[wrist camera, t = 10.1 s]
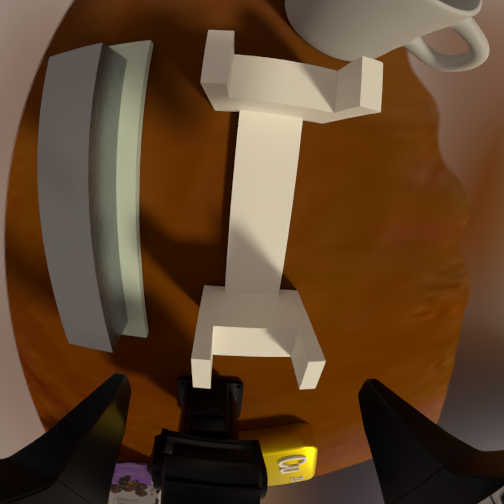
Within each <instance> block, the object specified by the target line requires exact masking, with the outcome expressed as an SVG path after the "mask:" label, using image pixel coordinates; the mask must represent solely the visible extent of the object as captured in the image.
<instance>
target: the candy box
mask: <svg viewBox="0 0 504 504" xmlns="http://www.w3.org/2000/svg"><path fill="white" fill-rule="evenodd" d="M147 465H148V463H132V462H116V466H115V471H114V475H113V480H112V484H111V489H110V494H109V499H108V504H161V490H156V489H154V488H153V482H152V477H151V476H150V475H149V474H148V473H147Z"/></svg>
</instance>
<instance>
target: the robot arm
mask: <svg viewBox="0 0 504 504" xmlns="http://www.w3.org/2000/svg"><path fill="white" fill-rule="evenodd" d="M181 381H182V382H181ZM238 385H239V386H238ZM177 386H178V393H179V400H180V406H181V415H180V422H179V430H178V432H175V431H169V430H168V429H164V428H162V432H161V435H157V436H155V441H154V447H153V451H152V454H151V457H150V459H149V462H148V465H147V473H148V474H149V475H150V476H151V477H152V482H153V488H154V489H156V490H161V504H260V499H263V498H264V497H265V495H266V492H267V486H268V475H267V469H266V465H265V462H264V458H263V455H262V451H261V447H260V443H259V440H255V439H252V440H239V425H238V418H239V417H240V410H241V403H242V395H243V382H241V381H230V380H212V379H211V388H210V389H208V388H196V387H193V380H192V378H187V377H179V378H178V380H177ZM130 395H131V388H130V384H129V381H128V378H127V375H126V374H122V373H114V374H113V375H112V376H111V377H110V378H108V379H107V380H106V381H105V382H104V383H103V384H101V385H100V386H99V387H98V388H97V389H96V390H95V391H93V392H92V393H91V394H90V395H89V396H88V397H86V398H85V399H84V400H83V401H82V402H81V403H79V404H78V405H77V406H76V407H75V408H74V409H73V410H71V411H70V412H69V413H68V414H67V415H66V416H64V417H63V418H62V419H61V420H60V421H59V422H57V423H56V425H54V426H53V427H52V428H50V429H49V430H48V431H47V432H46V433H44V434H43V435H42V436H41V437H39V438H38V439H36V440H35V441H34V442H32V443H30V444H29V445H27V446H26V447H24V448H23V449H21V450H20V451H18V452H16V453H15V454H13V455H12V456H10V457H7V458H4V459H0V504H108V499H109V494H110V489H111V484H112V480H113V475H114V471H115V466H116V462H117V458H118V454H119V450H120V446H121V442H122V439H123V435H124V431H125V427H126V421H127V414H128V407H129V401H130ZM358 398H359V403H360V409H361V414H362V420H363V425H364V429H365V433H366V436H367V440H368V443H369V447H370V450H371V454H372V457H373V461H374V464H375V468H376V471H377V475H378V479H379V483H380V487H381V490H382V495H383V499H384V503H385V504H504V450H500V451H499V450H498V451H481V450H478V449H475V448H473V447H472V446H470V445H468V444H466V443H464V442H463V441H461V440H459V439H457V438H456V437H454V436H452V435H451V434H449V433H448V432H446V431H445V430H443V429H442V428H441V427H439V426H438V425H437V424H435V423H434V422H432V421H431V420H430V419H428V418H427V417H426V416H424V415H423V414H422V413H420V412H419V411H418V410H416V409H415V408H414V407H412V406H411V405H410V404H408V403H407V402H406V401H404V400H403V399H402V398H400V397H399V396H398V395H397V394H395V393H394V392H393V391H391V390H390V389H389V388H387V387H386V386H385V385H383V384H382V383H381V382H380V381H378V380H377V379H367V380H366V381H365V382H364V384H363V386H362V388H361V389H360V391H359V394H358Z"/></svg>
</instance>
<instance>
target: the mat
mask: <svg viewBox="0 0 504 504" xmlns="http://www.w3.org/2000/svg"><path fill="white" fill-rule="evenodd" d="M153 45H154V44H153V42H152V41H151V40H147V41H138V42H131V43H124V44H118V45H112V46H108V47H110V48H111V49H113V50H114V51H115V52H117V53H118V54H120V55H121V56H122V57H124V58H125V59H127V64H126V70H125V76H124V82H123V90H122V97H121V106H120V116H119V127H118V142H117V165H116V204H117V229H118V244H119V256H120V266H121V275H122V283H123V291H124V298H125V304H126V311H127V317H128V323H127V325H126V327H125V329H124V331H123V333H122V334H123V335H129V336H136V337H143V338H147V336H148V333H149V330H148V323H147V315H146V307H145V298H144V288H143V277H142V264H141V248H140V222H139V177H140V152H141V136H142V123H143V113H144V104H145V95H146V87H147V80H148V73H149V67H150V61H151V55H152V50H153Z"/></svg>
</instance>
